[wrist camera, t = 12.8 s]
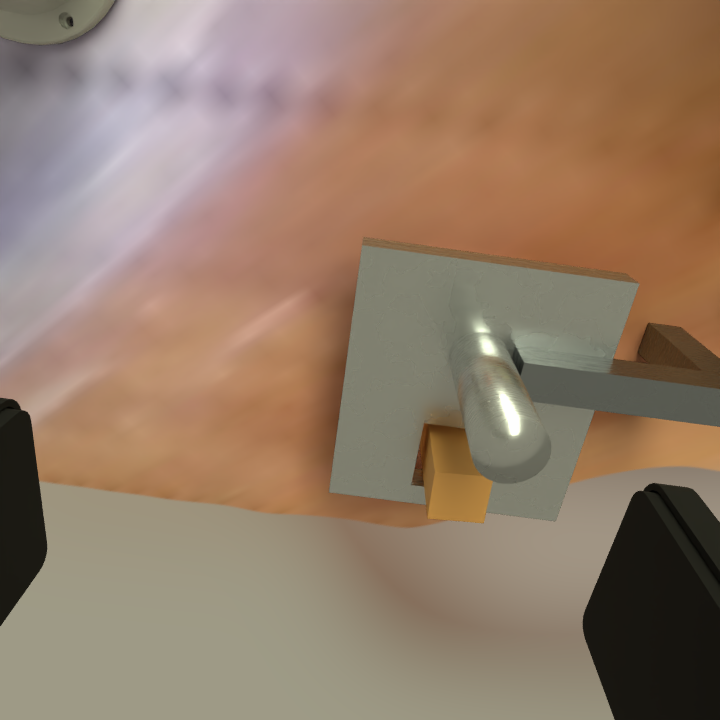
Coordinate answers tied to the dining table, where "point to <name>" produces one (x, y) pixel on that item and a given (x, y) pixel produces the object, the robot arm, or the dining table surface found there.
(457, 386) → the grey metal piece
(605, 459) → the dining table surface
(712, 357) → the bracket
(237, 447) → the dining table surface
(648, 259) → the dining table surface
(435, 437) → the mustard rectangular block
